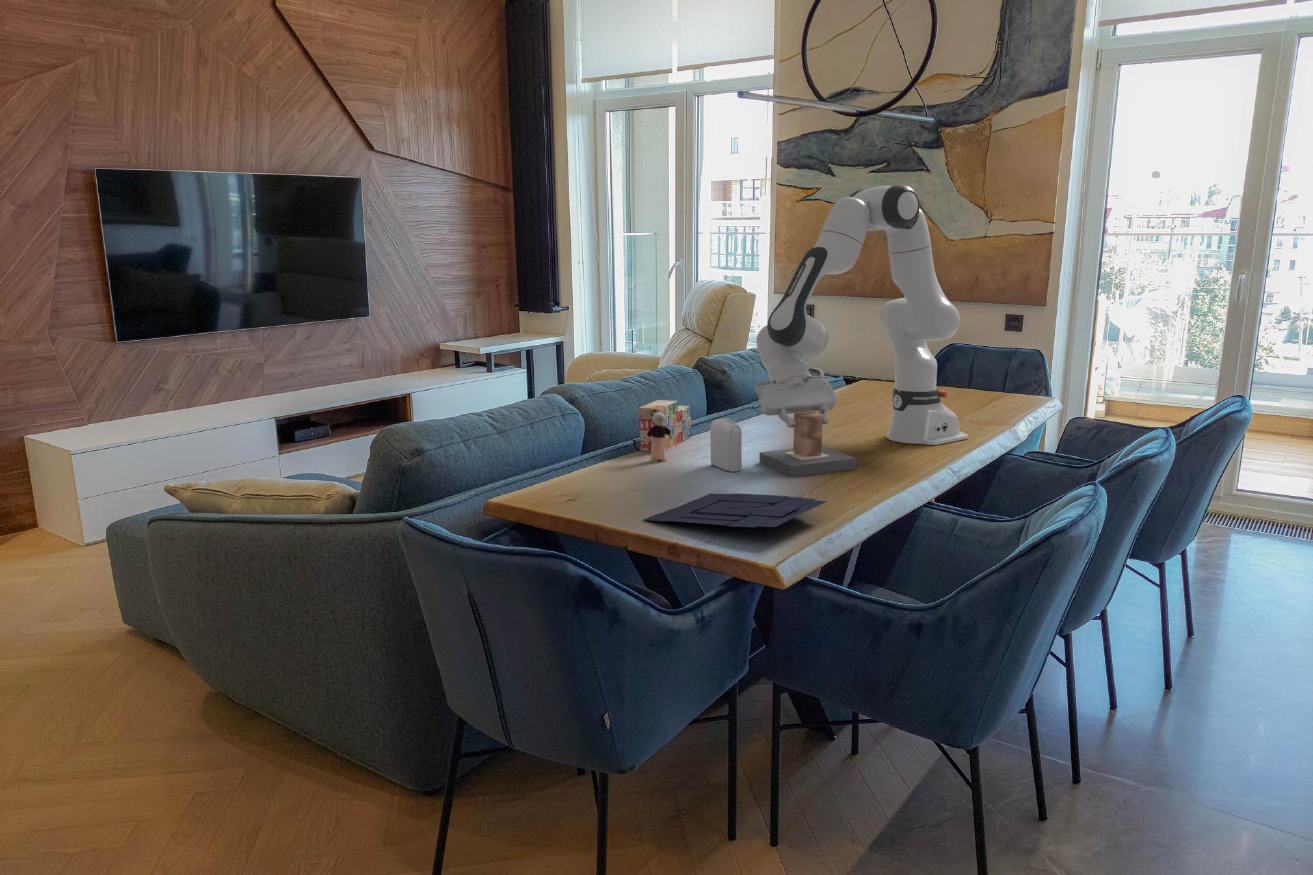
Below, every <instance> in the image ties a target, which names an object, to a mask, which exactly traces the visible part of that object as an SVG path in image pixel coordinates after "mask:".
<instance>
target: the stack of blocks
mask: <svg viewBox="0 0 1313 875" xmlns="http://www.w3.org/2000/svg"><path fill="white" fill-rule="evenodd" d="M678 404H679V403H678V400H666V399H665V400H663V399H657V400H654V401H652V402H650V403H647V404H645V405H642V406H639V407H638V414H639V415H638V423H639V424H638V427H639V428H638V429H639V452H648V453H651V445H652V438H653V436H651V437H650V438H649V440H648V442H645V441H644V440H645V439H646V435H647V433H648V432H649V430H650V429H651V428H652V427H653V426H656V425H655V424H654V421H653V419H652V417H653V416H654V414H655V413H658V412H659V413H662V414H663V415H664V416H665V421H664V423H663V425H662V426H665V427H667V428H668V429H669V430H670V431H671V434H672V436H673V438H672V439H669V436H668V435H666V434H665V435H664V436H665V451H667V450H669V449H672V448H673V447H675V446H677V445H679V442H680V443H682V442H684V441H686V440H688V439H690V438H692V437H691V436H692V434H691V432H692V429H691V428H692V427H691V426H692V423H691V422H692V421H691V419H692V417H691V406H690V405H678Z"/></svg>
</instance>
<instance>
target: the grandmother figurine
mask: <svg viewBox="0 0 1313 875" xmlns="http://www.w3.org/2000/svg"><path fill="white" fill-rule="evenodd" d="M652 419H653V421H654V424H655V425H656V426H653V427H652V428H651V429H650V430H649V432H648V433H647V435H646V439H645V440H644V441H645V442H648V440H649V438H650V437H651V436H653V438H652V445H651V452H650V460H649V462H650V463H658V461H659V462H667V460H668V459H667V458H666V450H665V436H664V435H665V434H666V435H668V436H669V439H672V438H673V436H672V434H671V431H670V430H669V429H668V428H667V427H665V426H662V425H663V423H664V421H665V416H664V415H663V414H662V413H659V412H658V413H655V414H654V416H653V417H652Z"/></svg>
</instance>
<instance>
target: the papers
mask: <svg viewBox="0 0 1313 875" xmlns="http://www.w3.org/2000/svg"><path fill="white" fill-rule="evenodd" d="M825 503H829V501H828V500H816V498H809V497H807V498H806V497H803V496H800V497H799V496H798V497H797V496H790V495H777V494H776V495H774V494H756V493H755V494H754V493H751V494H750V493H736V492H734V493H711V492H710V493H708V494H705V495H703V496H700V497H698V498H696V499H693V500H691V501H689V502H686V503H683V504H682V505H678V506H676V507H674V508H673V507H672V508H670V509H668V510H666V511H663V512H660V513H657V514H654V515H651V516H649V517H648V516H647V517H646V518H644V519H643V520H644V521H645V520H646V521H655V522H676V523H677V522H680V523H693V524H694V523H695V524H703V525H704V524H706V525H717V526H718V525H720V526H721V527H736V528H739V527H743V528H744V527H746V528H757V527H766V528H767V527H768V528H776V527H778V526H780V525H782V524H784V523H786V522H789V521H790V520H792V519H794V518H797V517H798V516H800V515H802V514H804V513H807V512H809V511H810V510H813V509H814V508H817V507H819V506H821V505H823V504H825Z"/></svg>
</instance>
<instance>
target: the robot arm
mask: <svg viewBox="0 0 1313 875" xmlns="http://www.w3.org/2000/svg"><path fill="white" fill-rule="evenodd" d="M928 226H929V225H928V222H927V219H926V216H925V214H924V211H923V210H922V209H921V204H920V199H919V197H918V194H917V192H916V191H915V189H913V188H912V187H910V186H908V185H904V184H894V185H887V184H886V185H878V186H877V185H876V186H873V187H871V188H866V189H864V188H863V189H859V190H856V191H853V192H852V193H851V194H850V195H848V196H846V197H841V198H839V199H838V200H837V201H836V202H835V203H834V205H833V206H832V208H831V210H830V211H829V214H828V215H827V217H826V219H825V222H824V224H823V226H822V228H821V231H820V233H819V236H818V238H817V241H815V242H816V243H815V244H814V246H813V247H811V248H810V249H809V250H808V251H807V252H806V253H805V254H804V256H803V258H802V259H801V260H800V263H799V265H798V266H797V268H796V270H795V272H794V274H793V276H792V278H791V280H790V281H789V284H788V287H787V288H786V290H785V292H784V294H783V296H782V298H781V299H780V301H779V303H778V304H777V305H776V306H775V307H774V308H773V310H772V312H771V313H770V314H769V317H768V320H767V325H765V326H763V327H762V328H761V329H760V330H759V332H758V334H757V335H756V349H757V351H758V353H759V358H760V359H761V362H762V365H763V366H764V368H766V370H767V376H768V379H769V380H768V381H759V382H758V383H756V385H755V386H754V389H755V393H756V394H757V397H758V401H759V404H760V408H761V411H762V413H763V414H764V415H765V416H767V417H770V416H778V418H779V419H780V420H781V421H783V422H784V423H785V424H786V426H787V428H788V429H789V428H794V426H795V425H796V423H795V421H794V417H790V416H789V415H791V414H796V413H807V412H813V413H814V412H818V414H820V415H823V416H822V425H827V424H828V423H829V421H830V419H829V416H828V411H831V410H832V409H834V407H835V406H836V405H837V402H838V395H836V393H835V391H834V390H835V389H834V388H833V387H832V385H831V383H830V382H829V381H828V380H827V379H825V378H824V377H825V372H824V371H823V370H822V369H820V368H814V367H810V366H807V365H804V364H802V363H803V362H806V361H808V360H810V359H812V358H814V357H816V356H818V355H820V354H821V353H822V352H823V350H825V348H826V346H827V344H828V340H829V331H828V328H827V327H826V326H825V325H824V324H822V322H820V321H818V319H816V318H814V317H813V316H811V315H809V314H808V313H807V304H808V303H809V301H810V299H811V297H812V296H813V293H814V291H815V288H816V286H817V284H818V283H819V281H820V280H821V279H822V278H823V277H824V276H826V275H841V274H843V273H846V272H848V271H850V270H851V269H852V268H853V267H854V265H855V264H856V263H857V261H858V258H859V256H860V253H861V251H862V248H863V245H864V241H865V238H866V235H867V232H868V231H873V232H875V231H876V232H877V231H884V232H885V233H886V235H887V251H888V259H889V265H890V274H891V279H892V281H893V283H894V284H895V285H896V286H897V288H899V290H900V291H901V292H902V294H903V296H904V297H900V298H896V299H892V300H889V301H887V302H886V303H885V304H884V305H883V306H882V308H881V309H880V313H879V324H880V326H881V328H882V329H883V331H884V332H885V333H886V335H887V336H888V339H889V341H890V344H891V348H892V350H893V351H892V352H893V355H894V368H895V369H894V388H893V389H892V415H891V419H890V420H891V421H890V425H889V428H888V432H887V435H886V439H888V440H889V441H893V442H898V443H903V444H917V445H928V446H936V445H937V446H938V445H942V444H946V443H952V442H957V441H962V440H968V438H969V437H968V435H969V434H967V433H966V432H962V431H961V430H960V420H959V418H958V416H957V415H956V414H955V413H954V412H953V411H952V410H951V409H949V408H948V407H947V406H946V405H945V404H943V403H942V402H941V398H942V399H947V398H948V397H949V395H950V394H949V393H948V391H947V390H943V389H942V390H938V389H937V377H938V376H937V374H938V361H937V359H936V358H935V357H934V355H933V354H932V352H931V351H930V350H929V347H928V343H927V341H930V342H936V341H937V342H938V341H943V340H947V339H950V338H952V337H953V336H955V334H956V333H957V331H958V329H959V327H960V322H961V319H960V318H961V316H960V312H959V310H958V308H957V307H956V306H955V305H954V304H953V303H952V302H951V301H950V300H949V299H948V298H947V296H946V295H945V293H944V292H943V289H942V287H941V285H940V283H939V280H938V278H937V274H936V269H935V264H934V257H933V256H934V255H933V252H932V251H933V250H932V243H931V242H932V241H931V236H930V235H931V234H930V231H929V227H928Z"/></svg>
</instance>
